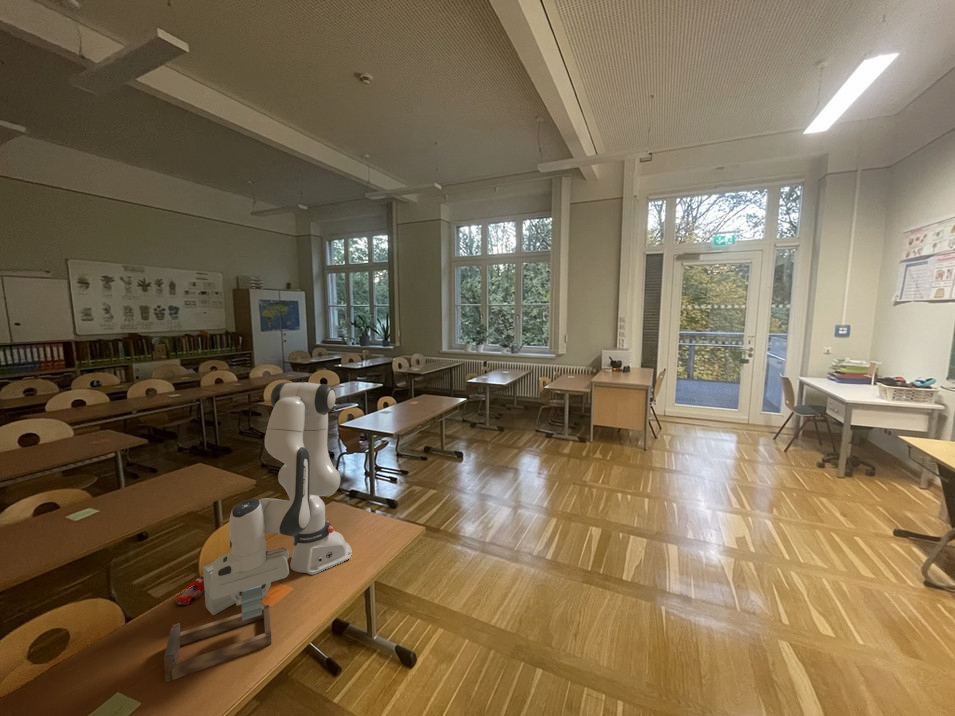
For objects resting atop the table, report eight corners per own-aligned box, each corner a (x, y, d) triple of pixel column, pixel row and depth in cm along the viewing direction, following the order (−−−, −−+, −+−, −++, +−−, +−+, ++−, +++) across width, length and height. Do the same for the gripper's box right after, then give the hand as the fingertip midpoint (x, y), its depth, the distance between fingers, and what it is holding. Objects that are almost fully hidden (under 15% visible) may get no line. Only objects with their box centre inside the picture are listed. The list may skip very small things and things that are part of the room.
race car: (186, 608, 122) (185, 597, 122) (172, 606, 123) (171, 594, 123) (220, 581, 135) (219, 571, 135) (207, 579, 136) (206, 569, 136)
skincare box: (232, 594, 129) (231, 552, 128) (240, 601, 126) (239, 559, 124) (203, 608, 122) (202, 565, 121) (211, 617, 119) (209, 572, 117)
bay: (269, 613, 121) (268, 595, 121) (271, 644, 110) (270, 624, 109) (173, 644, 109) (172, 625, 108) (164, 683, 97) (162, 661, 97)
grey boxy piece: (261, 598, 118) (261, 580, 117) (262, 615, 111) (261, 596, 110) (242, 603, 115) (242, 585, 114) (242, 621, 109) (241, 602, 108)
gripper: (287, 540, 119) (289, 580, 121) (208, 561, 108) (211, 605, 110) (289, 551, 113) (291, 593, 115) (206, 574, 103) (210, 620, 105)
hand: (252, 599), depth 113 cm, fingers closed on grey boxy piece, 5 cm apart
